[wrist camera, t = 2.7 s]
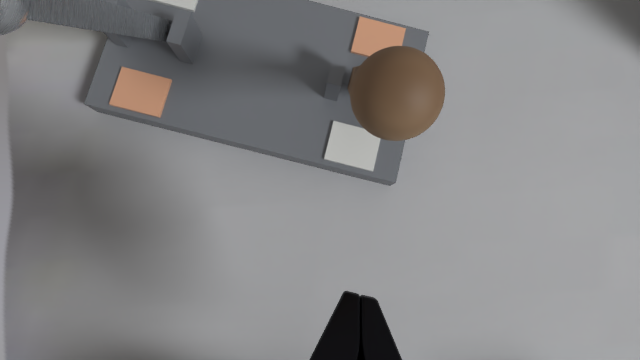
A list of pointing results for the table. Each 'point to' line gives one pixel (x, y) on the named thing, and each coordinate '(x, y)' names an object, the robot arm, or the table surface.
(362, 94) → the walnut lever
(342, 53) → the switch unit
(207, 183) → the table surface
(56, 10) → the steel lever
